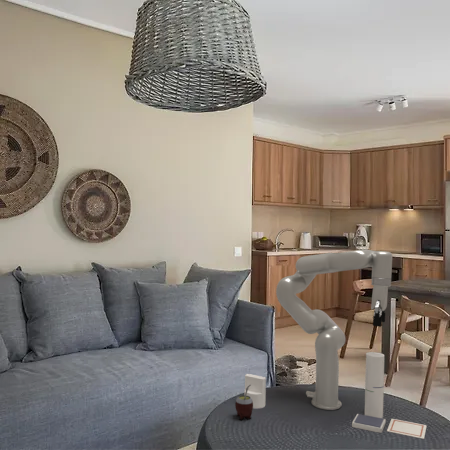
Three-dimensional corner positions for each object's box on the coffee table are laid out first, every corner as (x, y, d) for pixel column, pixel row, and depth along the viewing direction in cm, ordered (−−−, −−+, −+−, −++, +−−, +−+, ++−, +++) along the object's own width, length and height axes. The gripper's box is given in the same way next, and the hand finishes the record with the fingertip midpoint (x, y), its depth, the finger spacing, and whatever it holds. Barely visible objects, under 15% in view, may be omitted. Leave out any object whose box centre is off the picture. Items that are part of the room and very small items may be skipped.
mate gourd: (240, 412, 198) (240, 376, 198) (257, 416, 195) (258, 379, 195) (231, 419, 192) (232, 381, 192) (249, 423, 188) (250, 384, 188)
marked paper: (386, 431, 184) (386, 430, 184) (391, 419, 195) (391, 418, 195) (423, 438, 178) (424, 438, 178) (426, 425, 189) (426, 425, 189)
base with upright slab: (269, 403, 209) (269, 375, 209) (259, 410, 201) (259, 381, 201) (250, 399, 214) (251, 371, 214) (240, 405, 206) (240, 377, 206)
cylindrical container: (383, 420, 194) (385, 357, 194) (365, 418, 196) (366, 356, 195) (381, 413, 201) (383, 352, 201) (363, 411, 202) (365, 351, 202)
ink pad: (351, 426, 187) (352, 422, 187) (357, 417, 196) (357, 412, 196) (381, 433, 182) (381, 428, 182) (385, 423, 191) (385, 418, 191)
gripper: (375, 278, 206) (373, 318, 207) (367, 283, 191) (365, 326, 191) (393, 280, 203) (391, 321, 204) (387, 285, 188) (385, 329, 188)
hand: (379, 323), depth 197 cm, fingers open, 9 cm apart
